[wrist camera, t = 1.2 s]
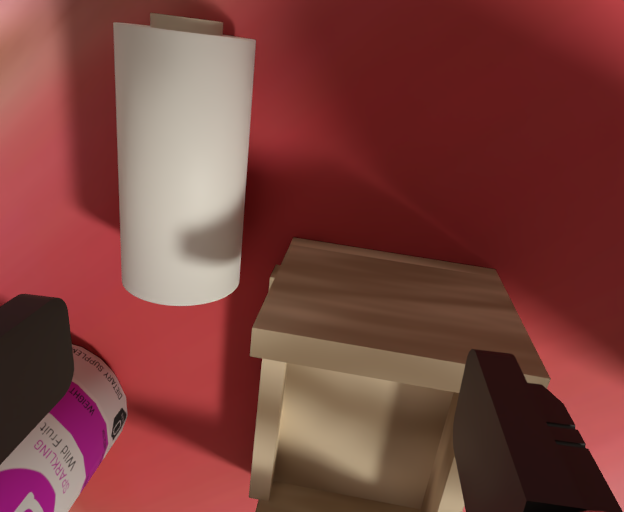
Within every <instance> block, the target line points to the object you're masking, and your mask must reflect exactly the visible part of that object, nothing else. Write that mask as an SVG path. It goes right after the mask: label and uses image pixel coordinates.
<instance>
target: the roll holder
mask: <svg viewBox="0 0 624 512" xmlns="http://www.w3.org/2000/svg"><path fill="white" fill-rule="evenodd" d="M471 349H477V350H485V351H494V352H502V353H510V354H513V355H514V356H515V358H516V360H517V362H518V364H519V366H520V368H521V370H522V372H523V374H524V376H525V379H526V381H527V383H534V384H542V385H543V386H544V387H545V388H546V389H547V387H548V384H549V382H550V377H549V375H548V373H547V371H546V369H545V367H544V365H543V363H542V361H541V359H540V357H539V355H538V353H537V351H536V349H535V347H534V345H533V343H532V341H531V339H530V337H529V335H528V333H527V331H526V329H525V327H524V325H523V323H522V321H521V319H520V317H519V315H518V313H517V311H516V309H515V307H514V305H513V303H512V301H511V299H510V297H509V295H508V293H507V291H506V289H505V287H504V285H503V283H502V281H501V279H500V278H499V276H498V274H497V272H496V270H495V269H490V268H484V267H477V266H471V265H465V264H459V263H452V262H446V261H440V260H433V259H427V258H421V257H414V256H408V255H402V254H395V253H389V252H383V251H376V250H370V249H364V248H358V247H351V246H345V245H339V244H332V243H326V242H320V241H313V240H307V239H301V238H294V237H293V239H292V241H291V244H290V246H289V248H288V250H287V252H286V255H285V257H284V259H283V261H282V263H281V265H275V268H274V270H273V272H272V274H271V276H270V282H269V292H268V294H267V296H266V298H265V301H264V303H263V305H262V307H261V309H260V311H259V314H258V316H257V318H256V320H255V322H254V325H253V327H252V335H251V347H250V356H251V357H257V358H262V365H261V376H260V386H259V397H258V407H257V417H256V428H255V438H254V449H253V459H252V470H251V480H250V491H249V498H254V499H259V501H258V504H257V508H256V512H462V511H463V508H464V505H465V504H464V499H463V494H462V489H461V484H460V479H459V474H458V470H457V465H456V460H455V455H454V449H453V422H454V416H455V411H456V406H457V401H458V397H459V392H460V387H461V383H462V378H463V373H464V369H465V364H466V360H467V356H468V353H469V351H470V350H471Z"/></svg>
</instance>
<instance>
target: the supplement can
mask: <svg viewBox="0 0 624 512" xmlns="http://www.w3.org/2000/svg"><path fill="white" fill-rule="evenodd" d="M72 351H73V359H74V374H73V379H72V382H71V385H70V387H69V389H68V391H67V393H66V394H65V395H64V397H63V398H62V399H61V400H60V401H59V402H58V403H57V404H56V405H55V406H54V408H53V409H52V410H51V411H50V412H49V413H48V414H47V415H46V416H45V417H44V418H43V419H42V420H41V422H40V423H39V424H38V425H37V426H36V427H35V428H34V429H33V430H32V431H31V432H30V433H29V434H28V436H27V437H26V438H25V439H24V440H23V441H22V442H21V443H20V444H19V445H18V446H17V447H16V448H15V450H14V451H13V452H12V453H11V454H10V455H9V456H8V457H7V458H6V459H5V460H4V461H3V462H2V464H1V465H0V512H68V511H69V509H70V508H71V506H72V505H73V503H74V502H75V500H76V499H77V497H78V496H79V494H80V493H81V491H82V490H83V488H84V487H85V486H86V484H87V483H88V481H89V480H90V478H91V477H92V475H93V474H94V472H95V471H96V469H97V468H98V466H99V465H100V463H101V462H102V460H103V459H104V457H105V456H106V454H107V453H108V451H109V450H110V448H111V447H112V445H113V444H114V442H115V441H116V439H117V438H118V436H119V435H120V433H121V432H122V429H123V427H124V424H125V421H126V419H127V416H128V415H127V403H126V396H125V394H124V392H123V390H122V388H121V386H120V384H119V381H118V379H117V377H116V376H115V374H114V372H113V371H112V370H111V369H110V368H109V367H108V366H107V365H106V364H105V363H104V362H103V361H102V359H101V358H99V357H97V356H96V355H94V354H93V353H91V352H89V351H88V350H86V349H84V348H83V347H80V346H76V345H73V344H72Z"/></svg>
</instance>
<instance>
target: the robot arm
mask: <svg viewBox="0 0 624 512" xmlns="http://www.w3.org/2000/svg"><path fill="white" fill-rule="evenodd" d="M73 374H74V359H73V351H72V342H71V334H70V325H69V317H68V310H67V306H66V304H65V302H64V301H63V300H62V299H60V298H55V297H46V296H38V295H30V294H20V295H18V296H16V297H14V298H13V299H11V300H10V301H8V302H7V303H5V304H4V305H2V306H1V307H0V465H1V464H2V462H3V461H4V460H5V459H6V458H7V457H8V456H9V455H10V454H11V453H12V452H13V451H14V450H15V448H16V447H17V446H18V445H19V444H20V443H21V442H22V441H23V440H24V439H25V438H26V437H27V436H28V434H29V433H30V432H31V431H32V430H33V429H34V428H35V427H36V426H37V425H38V424H39V423H40V422H41V420H42V419H43V418H44V417H45V416H46V415H47V414H48V413H49V412H50V411H51V410H52V409H53V408H54V406H55V405H56V404H57V403H58V402H59V401H60V400H61V399H62V398H63V397H64V395H65V394H66V393H67V391H68V389H69V387H70V385H71V382H72V379H73ZM453 449H454V455H455V460H456V465H457V470H458V474H459V479H460V484H461V489H462V494H463V499H464V504H465V509H466V512H622V510H621V508H620V506H619V504H618V502H617V501H616V499H615V497H614V495H613V493H612V491H611V490H610V488H609V486H608V484H607V482H606V481H605V479H604V477H603V475H602V473H601V471H600V470H599V468H598V466H597V464H596V462H595V460H594V459H593V457H592V455H591V453H590V451H589V450H588V449H586V448H585V442H584V440H583V439H582V437H581V435H580V433H579V431H578V430H575V424H574V422H573V420H572V419H571V417H570V415H569V413H568V411H567V409H566V408H565V406H564V404H563V403H562V402H561V401H560V400H559V399H557V398H556V397H555V396H554V395H553V394H552V393H551V392H550V391H549V390H547V389H546V388H545V387H544V386H543V385H542V384H534V383H527V381H526V379H525V376H524V374H523V372H522V370H521V368H520V366H519V364H518V362H517V360H516V358H515V356H514V355H513V354H510V353H502V352H494V351H485V350H477V349H471V350H470V351H469V353H468V356H467V360H466V364H465V369H464V373H463V378H462V383H461V387H460V392H459V397H458V401H457V406H456V411H455V416H454V422H453Z"/></svg>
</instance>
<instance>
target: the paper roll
mask: <svg viewBox="0 0 624 512" xmlns="http://www.w3.org/2000/svg"><path fill="white" fill-rule="evenodd" d="M113 30H114V59H115V89H116V119H117V149H118V178H119V208H120V238H121V267H122V283H123V286H124V287H125V289H126V290H127V291H128V292H129V293H131V294H132V295H134V296H136V297H138V298H140V299H143V300H145V301H149V302H152V303H157V304H163V305H172V306H190V305H199V304H205V303H210V302H213V301H217V300H219V299H222V298H224V297H226V296H228V295H229V294H231V293H232V292H233V291H234V290H235V289H236V288H237V287H238V285H239V279H240V264H241V250H242V236H243V221H244V207H245V192H246V178H247V163H248V149H249V134H250V120H251V106H252V91H253V77H254V62H255V48H256V40H254V39H249V38H243V37H236V36H229V35H223V22H217V21H210V20H202V19H194V18H187V17H179V16H171V15H164V14H156V13H150V26H149V25H140V24H130V23H119V22H113Z"/></svg>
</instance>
